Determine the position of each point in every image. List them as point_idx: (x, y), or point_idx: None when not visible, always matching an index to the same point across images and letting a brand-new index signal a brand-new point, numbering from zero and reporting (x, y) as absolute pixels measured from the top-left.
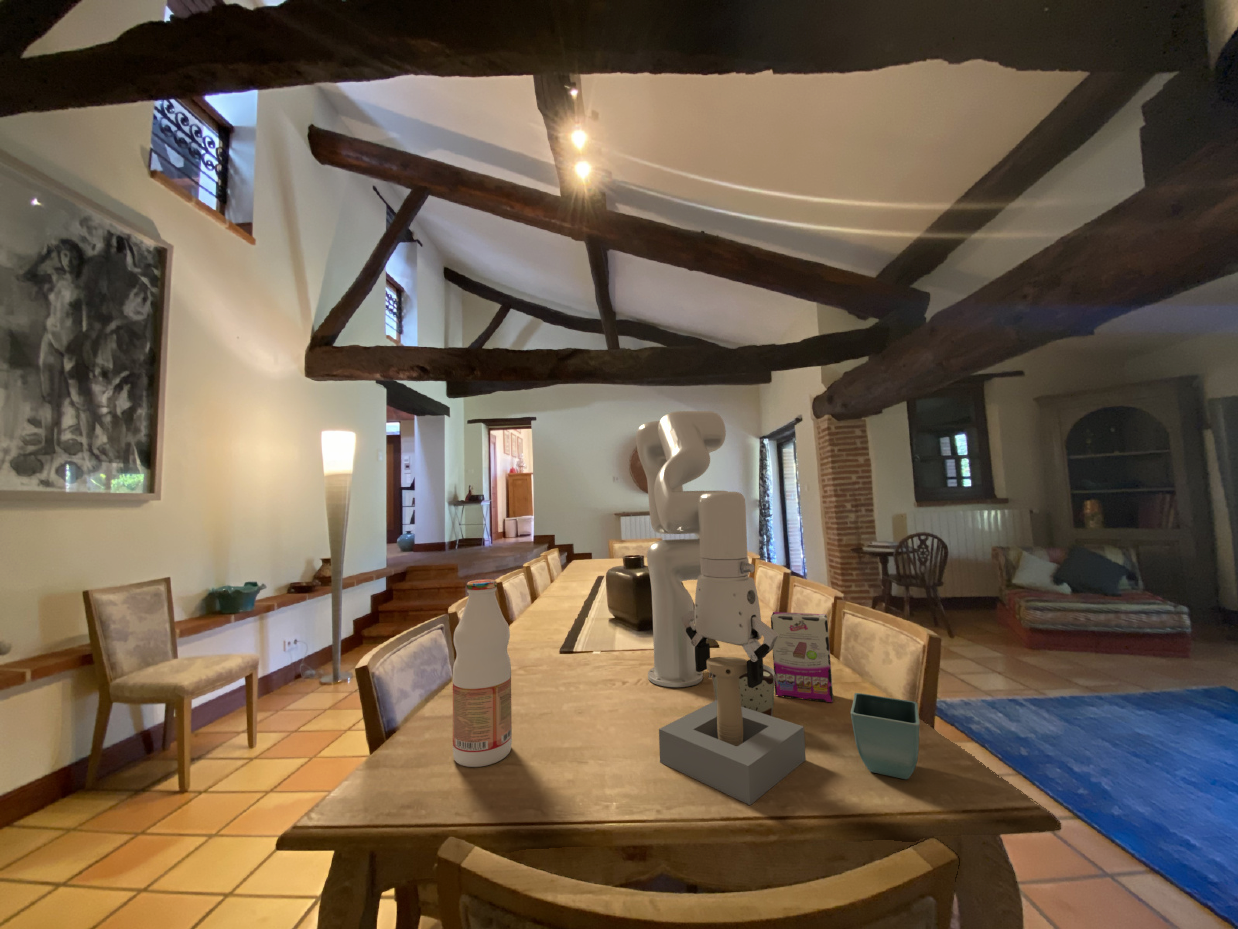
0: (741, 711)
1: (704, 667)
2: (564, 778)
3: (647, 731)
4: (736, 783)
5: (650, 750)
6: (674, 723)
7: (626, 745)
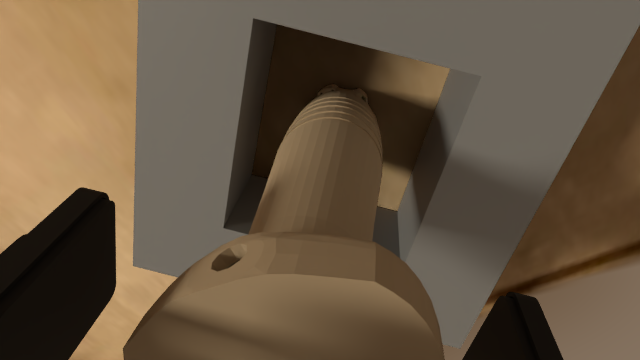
0: (378, 182)
1: (106, 264)
2: None
3: (15, 63)
4: None
5: (112, 166)
6: (146, 215)
7: (42, 172)
